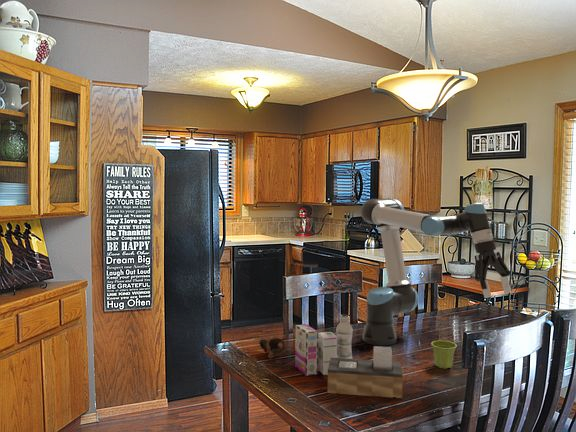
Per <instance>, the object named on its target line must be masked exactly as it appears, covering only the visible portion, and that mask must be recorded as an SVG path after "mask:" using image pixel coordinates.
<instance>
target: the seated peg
mask: <svg viewBox="0 0 576 432" xmlns="http://www.w3.org/2000/svg"><path fill="white" fill-rule="evenodd" d="M338 368H354V369H357V362H347V361H339V367H338Z"/></svg>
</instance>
